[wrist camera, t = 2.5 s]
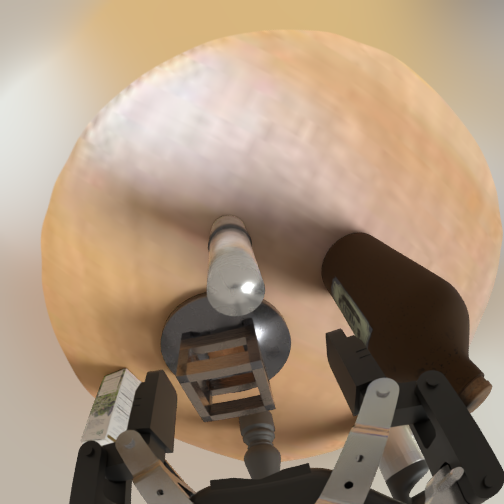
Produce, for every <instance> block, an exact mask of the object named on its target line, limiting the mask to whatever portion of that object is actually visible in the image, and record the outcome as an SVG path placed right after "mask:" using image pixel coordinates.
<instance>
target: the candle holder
mask: <svg viewBox="0 0 504 504" xmlns="http://www.w3.org/2000/svg"><path fill="white" fill-rule="evenodd" d="M239 423H240V431H241V435H242V436H243V441H244V443H246V444H247V445H248V451H247V452H246V454H245V456H244V462H245V465H246V467H247V469H248V472H249V474H250V476H251V478H252V479H262V478H265V477H267V476H270V475H272V474H274V473H276V472H279V471H280V463H281V455H280V452H279V451H278V450H277V449H276V448H275V447H274V446H273V444H272V441H273V440H274V438H275V434H274V431H275V427H274V423H273V418H272V414H271V413H270V412H269V411H264V412H259V413H255V414H250V415H245V416H240V418H239Z"/></svg>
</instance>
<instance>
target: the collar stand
mask: <svg viewBox="0 0 504 504" xmlns="http://www.w3.org/2000/svg"><path fill="white" fill-rule="evenodd" d="M290 348H291V338H290V334H289V330H288V327H287V325H286V322H285V320H284V318H283V317H282V315H281V314H280V312H279V311H278V310H277V309H276V308H275V307H274V306H273V305H271V304H270V303H269V302H267V301H266V300H264V299H263V300H262V302H261V304H260V305H259V306H258V307H257V308H256V309H255V310H254V311H252V312H250V313H248V314H246V315H242V316H228V315H224V314H222V313H220V312H218V311H217V310H215V309H214V308H213V307H212V305H211V304H210V302H209V300H208V297H207V292H206V293H202V294H199V295H196V296H194V297H192V298H190V299H188V300H186V301H185V302H183V303H182V304H180V305H179V306H178V307H177V308H176V309H175V310H174V311H173V312H172V313H171V314H170V316H169V317H168V319H167V321H166V323H165V325H164V329H163V333H162V337H161V352H162V355H163V358H164V361H165V363H166V364H167V366H168V367H169V369H170V370H171V371H172V372H173V373H174V374H175V375H176V378H177V380H178V381H179V383H180V385H181V386H182V388H183V390H184V391H185V393H186V395H187V396H188V398H189V399H190V401H191V403H192V404H193V406H194V407H195V409H196V411H197V412H198V414H199V415H200V417H201V418H202V420H203V421H204V422H208V421H215V420H222V419H228V418H234V417H239V416H245V415H250V414H255V413H259V412H264V411H268V410H273V409H275V404H274V400H273V396H272V391H271V387H270V383H269V380H270V379H271V378H272V377H274V376H275V375H276V374H277V373H278V372H279V371H280V370H281V368H282V367H283V366H284V364H285V363H286V361H287V358H288V356H289V353H290ZM256 387H258V389H259V392H260V395H257V396H253V397H248V398H243V399H238V400H233V401H227V402H222V403H216V404H212V396H215V395H221V394H226V393H235V392H241V391H245V390H249V389H252V388H256Z"/></svg>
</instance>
